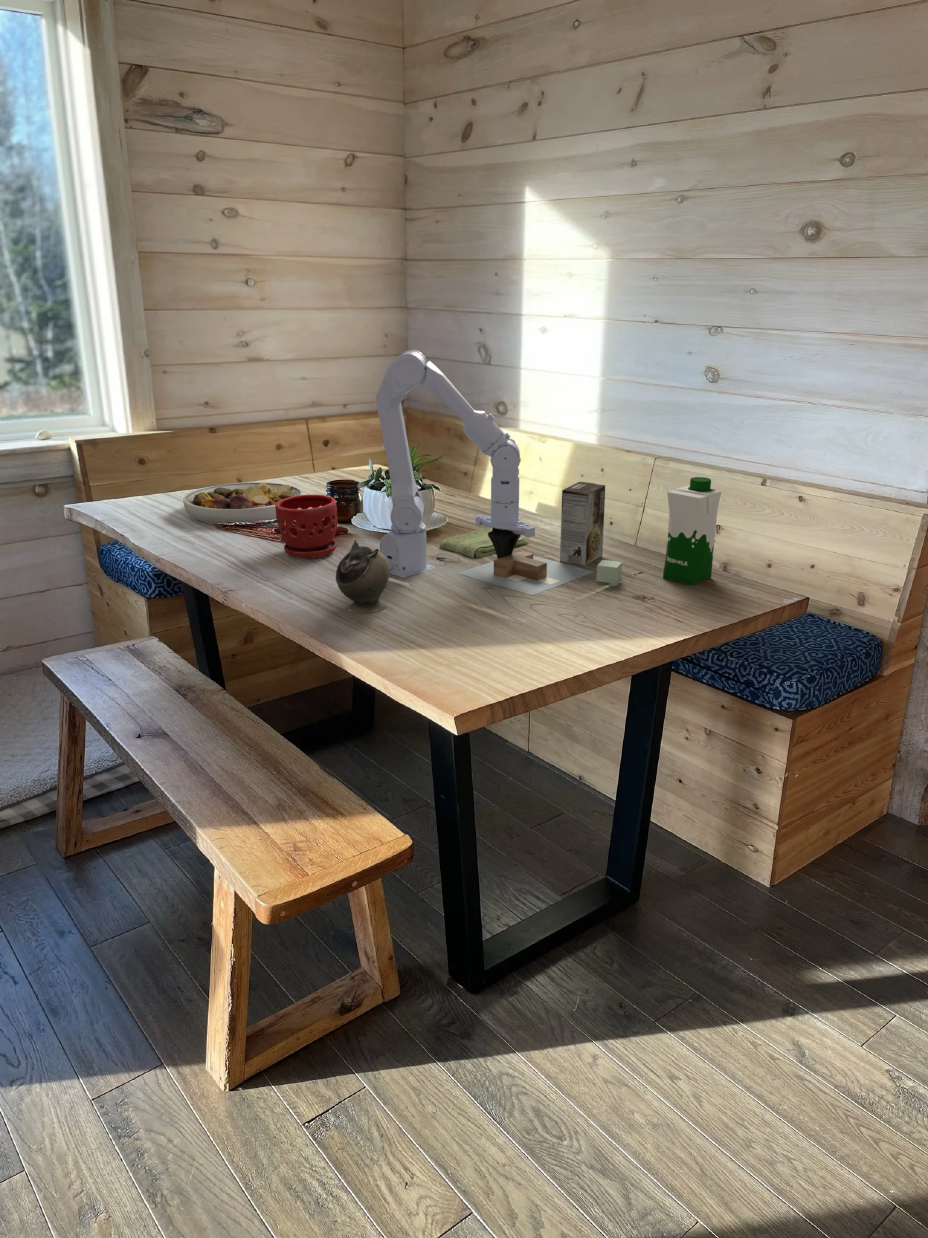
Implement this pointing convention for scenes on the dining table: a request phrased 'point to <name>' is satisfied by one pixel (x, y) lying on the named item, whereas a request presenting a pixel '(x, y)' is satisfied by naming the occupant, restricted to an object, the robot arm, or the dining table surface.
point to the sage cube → (609, 572)
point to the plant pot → (307, 525)
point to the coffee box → (582, 523)
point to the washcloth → (474, 543)
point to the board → (555, 577)
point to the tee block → (520, 566)
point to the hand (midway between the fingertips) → (504, 564)
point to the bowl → (237, 501)
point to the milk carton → (691, 531)
